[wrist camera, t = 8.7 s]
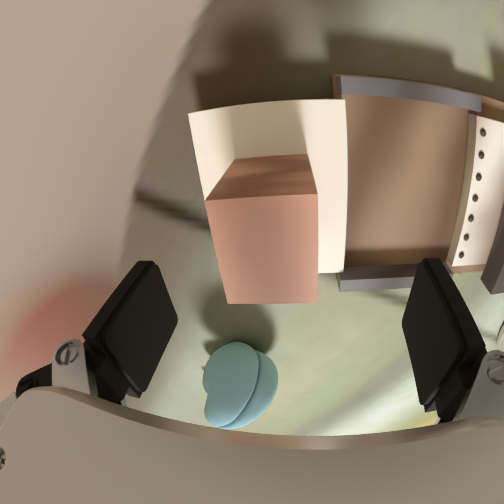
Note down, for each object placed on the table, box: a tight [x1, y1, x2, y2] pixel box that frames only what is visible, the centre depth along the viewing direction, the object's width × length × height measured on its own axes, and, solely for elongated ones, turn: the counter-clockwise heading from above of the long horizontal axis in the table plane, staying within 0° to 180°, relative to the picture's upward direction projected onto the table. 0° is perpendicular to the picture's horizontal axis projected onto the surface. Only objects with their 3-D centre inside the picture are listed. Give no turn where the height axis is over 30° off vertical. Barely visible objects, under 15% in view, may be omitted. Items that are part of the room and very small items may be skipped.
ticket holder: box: [332, 74, 504, 294], centre depth 14 cm, size 18×14×4 cm
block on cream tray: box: [188, 99, 348, 304], centre depth 14 cm, size 8×11×7 cm
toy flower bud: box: [203, 342, 278, 430], centre depth 26 cm, size 7×9×12 cm
